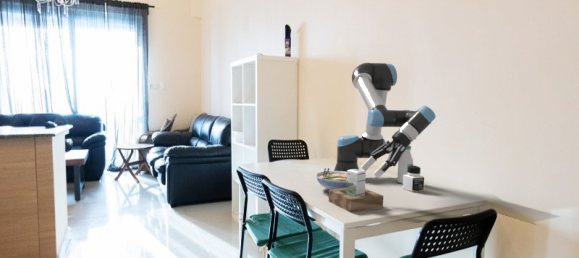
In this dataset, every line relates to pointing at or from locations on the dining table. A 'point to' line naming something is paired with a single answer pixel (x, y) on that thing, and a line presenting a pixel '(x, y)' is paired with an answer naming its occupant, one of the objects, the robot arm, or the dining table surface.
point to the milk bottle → (404, 164)
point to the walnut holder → (355, 200)
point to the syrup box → (356, 182)
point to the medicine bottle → (413, 179)
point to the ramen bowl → (332, 179)
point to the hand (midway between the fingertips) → (369, 172)
